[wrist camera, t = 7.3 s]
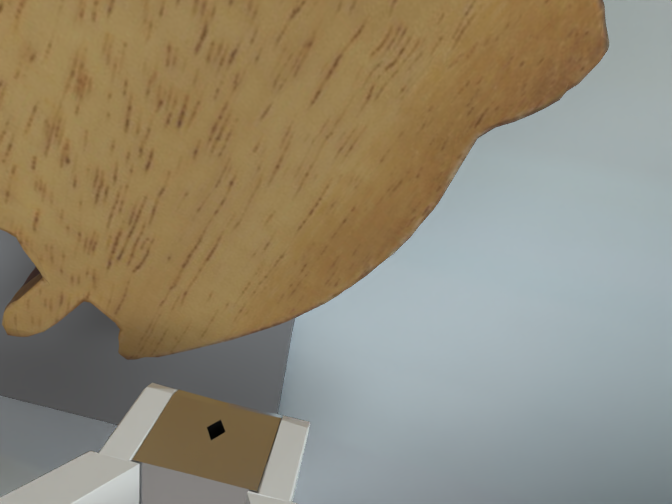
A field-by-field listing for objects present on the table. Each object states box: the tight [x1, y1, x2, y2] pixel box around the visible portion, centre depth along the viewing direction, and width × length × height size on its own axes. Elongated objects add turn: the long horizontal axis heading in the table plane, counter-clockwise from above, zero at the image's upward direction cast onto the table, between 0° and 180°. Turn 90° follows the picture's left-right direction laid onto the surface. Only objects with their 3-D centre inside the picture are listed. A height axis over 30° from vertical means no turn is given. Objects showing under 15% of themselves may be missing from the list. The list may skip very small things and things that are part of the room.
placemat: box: [0, 230, 295, 425], centre depth 16 cm, size 12×18×1 cm, turn 170°
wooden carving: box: [0, 0, 609, 360], centre depth 11 cm, size 16×5×10 cm
